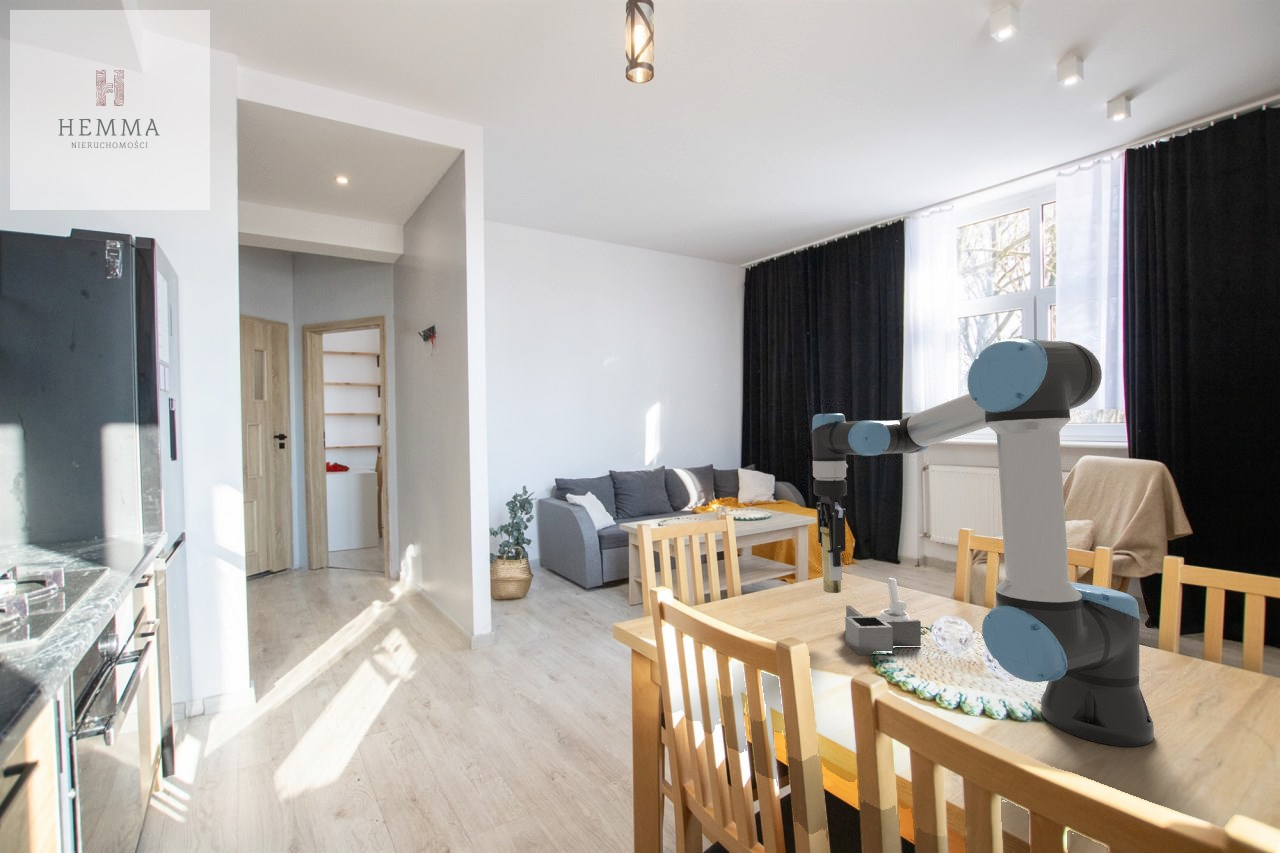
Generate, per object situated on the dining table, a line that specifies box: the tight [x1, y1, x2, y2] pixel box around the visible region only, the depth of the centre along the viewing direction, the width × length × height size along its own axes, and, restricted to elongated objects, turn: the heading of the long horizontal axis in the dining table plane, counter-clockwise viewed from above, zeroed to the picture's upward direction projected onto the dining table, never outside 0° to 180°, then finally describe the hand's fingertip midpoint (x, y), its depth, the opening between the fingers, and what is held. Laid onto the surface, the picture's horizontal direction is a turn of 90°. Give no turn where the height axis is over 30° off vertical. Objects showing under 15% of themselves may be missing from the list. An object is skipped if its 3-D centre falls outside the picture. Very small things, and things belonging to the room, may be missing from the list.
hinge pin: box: [820, 526, 842, 594], centre depth 141 cm, size 5×5×15 cm
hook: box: [878, 577, 912, 621], centre depth 157 cm, size 8×12×7 cm
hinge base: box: [844, 605, 922, 656], centre depth 139 cm, size 16×16×6 cm
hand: (832, 577), depth 141 cm, fingers closed on hinge pin, 4 cm apart
